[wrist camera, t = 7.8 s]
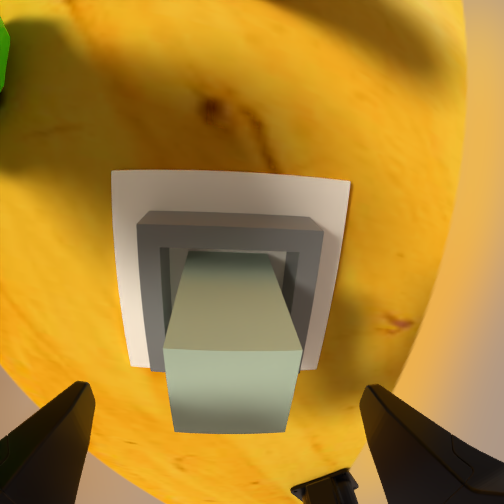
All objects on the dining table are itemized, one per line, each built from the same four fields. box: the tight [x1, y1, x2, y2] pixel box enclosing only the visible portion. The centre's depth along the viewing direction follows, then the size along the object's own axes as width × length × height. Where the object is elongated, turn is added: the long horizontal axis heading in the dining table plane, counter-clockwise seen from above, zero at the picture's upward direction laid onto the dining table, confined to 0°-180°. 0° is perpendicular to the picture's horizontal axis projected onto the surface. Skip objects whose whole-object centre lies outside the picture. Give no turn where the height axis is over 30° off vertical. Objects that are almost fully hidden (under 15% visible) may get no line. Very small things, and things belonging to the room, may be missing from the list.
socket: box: [111, 170, 351, 373], centre depth 16 cm, size 12×12×3 cm
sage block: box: [163, 251, 303, 434], centre depth 13 cm, size 4×4×8 cm
